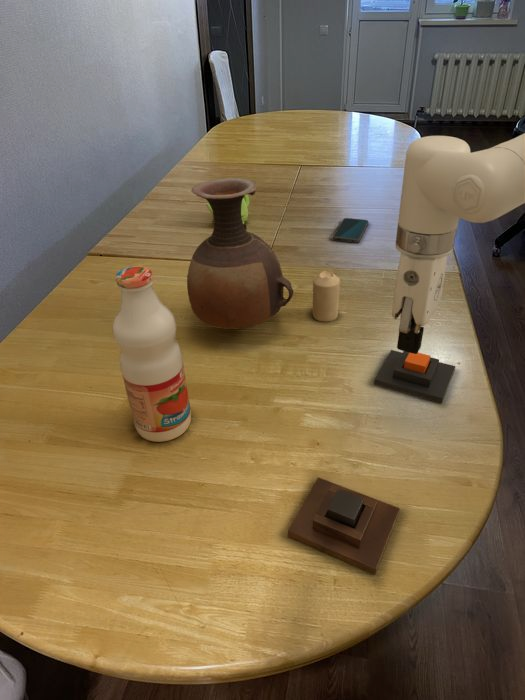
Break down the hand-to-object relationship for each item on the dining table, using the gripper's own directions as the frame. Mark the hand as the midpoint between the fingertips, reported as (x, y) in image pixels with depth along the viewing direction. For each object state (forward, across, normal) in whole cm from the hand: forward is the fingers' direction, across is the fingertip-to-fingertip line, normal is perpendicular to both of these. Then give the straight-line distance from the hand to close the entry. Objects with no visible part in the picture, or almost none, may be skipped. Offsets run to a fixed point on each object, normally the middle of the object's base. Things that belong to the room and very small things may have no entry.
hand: (408, 348), depth 79 cm
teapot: (+13, +58, +71) cm, 93 cm away
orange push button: (+13, +10, 0) cm, 16 cm away
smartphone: (+13, +67, +36) cm, 77 cm away
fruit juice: (+13, -21, +34) cm, 42 cm away
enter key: (+10, +10, 0) cm, 14 cm away
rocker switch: (+10, -25, 0) cm, 27 cm away
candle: (+13, +22, +24) cm, 35 cm away
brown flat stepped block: (+13, -25, 0) cm, 28 cm away
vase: (+13, +10, +38) cm, 42 cm away
